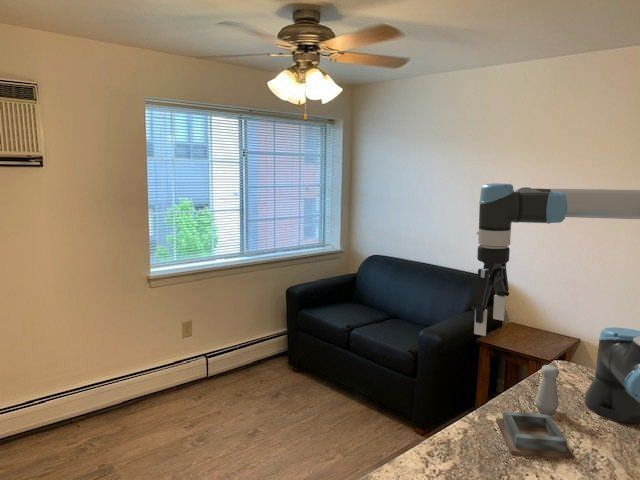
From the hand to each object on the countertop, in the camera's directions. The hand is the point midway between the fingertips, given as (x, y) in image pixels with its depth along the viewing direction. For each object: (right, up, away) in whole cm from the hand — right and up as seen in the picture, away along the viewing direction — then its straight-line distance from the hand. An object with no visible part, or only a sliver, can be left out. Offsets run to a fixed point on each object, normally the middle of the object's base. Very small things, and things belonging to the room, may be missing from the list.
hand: (489, 326), depth 120 cm
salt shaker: (+19, -25, +9) cm, 32 cm away
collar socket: (+9, -27, -4) cm, 29 cm away
